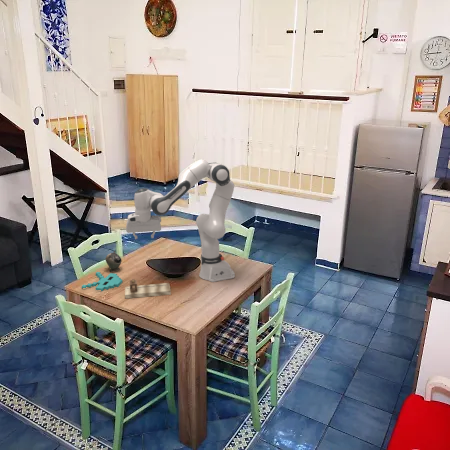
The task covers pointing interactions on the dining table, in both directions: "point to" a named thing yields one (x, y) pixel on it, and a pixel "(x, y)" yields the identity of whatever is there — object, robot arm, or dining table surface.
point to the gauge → (133, 285)
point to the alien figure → (105, 282)
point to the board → (148, 290)
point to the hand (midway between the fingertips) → (144, 238)
